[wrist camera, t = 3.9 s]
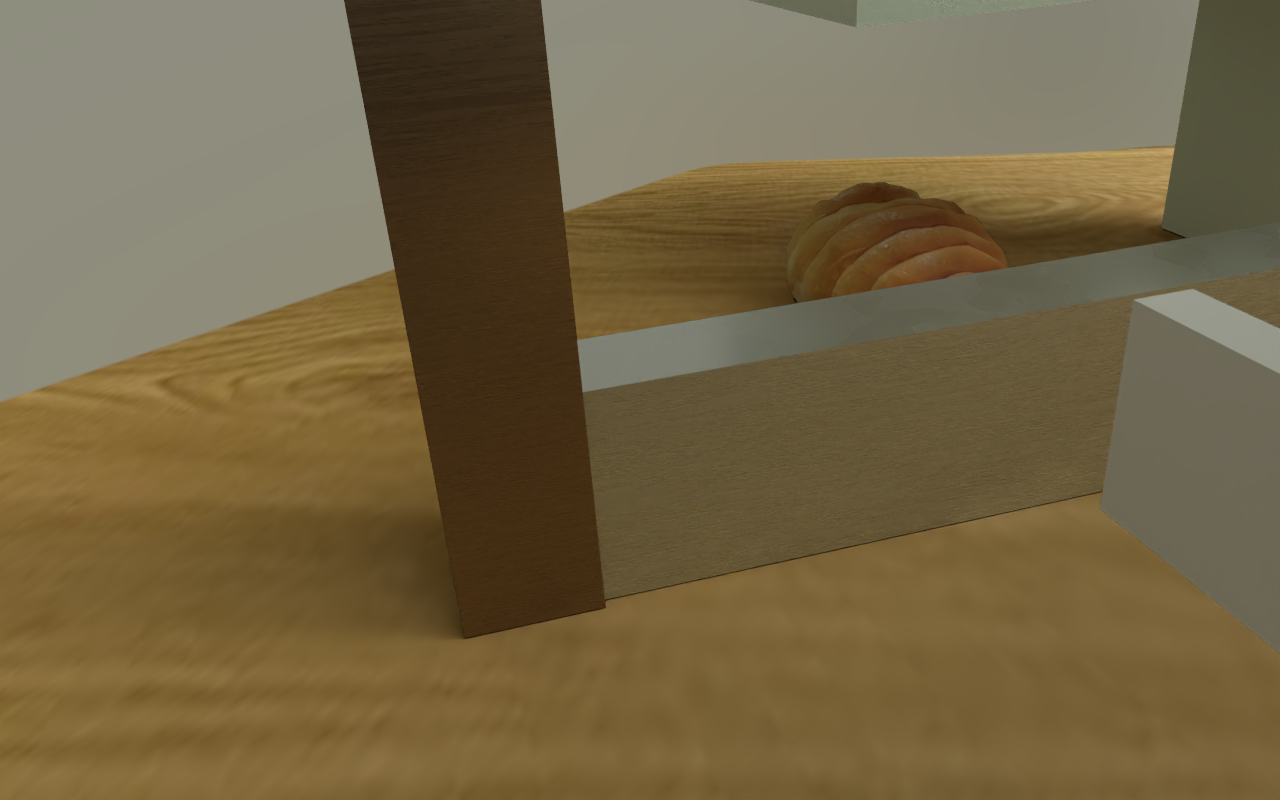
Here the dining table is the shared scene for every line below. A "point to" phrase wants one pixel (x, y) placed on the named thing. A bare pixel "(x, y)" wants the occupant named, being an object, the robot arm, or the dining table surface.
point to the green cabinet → (1211, 109)
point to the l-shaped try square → (710, 359)
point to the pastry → (884, 243)
